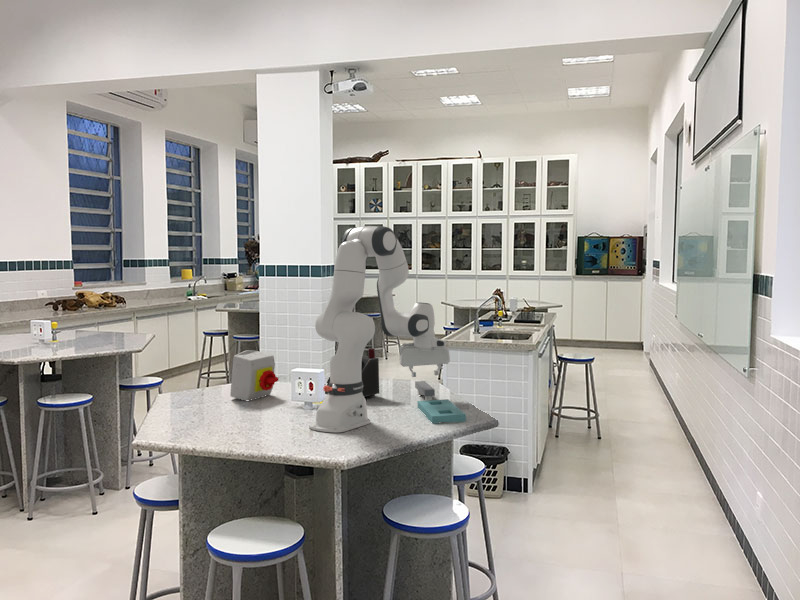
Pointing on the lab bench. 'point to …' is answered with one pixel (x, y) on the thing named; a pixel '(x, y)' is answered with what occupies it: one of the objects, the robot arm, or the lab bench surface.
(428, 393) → the pin bar
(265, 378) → the electrical switch box
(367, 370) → the voltmeter
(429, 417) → the mounting plate
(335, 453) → the lab bench surface
